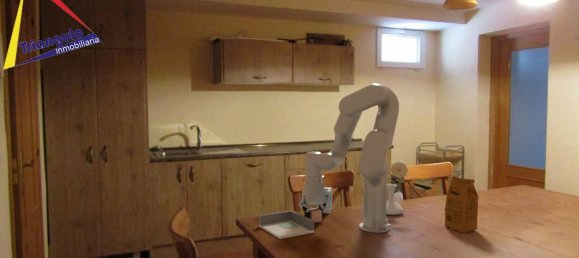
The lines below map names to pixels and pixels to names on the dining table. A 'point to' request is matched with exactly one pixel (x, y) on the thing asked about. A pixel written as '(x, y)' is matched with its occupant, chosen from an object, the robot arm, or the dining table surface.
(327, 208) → the light bulb box
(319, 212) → the cube
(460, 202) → the coffee package
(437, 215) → the dining table surface
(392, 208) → the flower in vase
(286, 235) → the tray
